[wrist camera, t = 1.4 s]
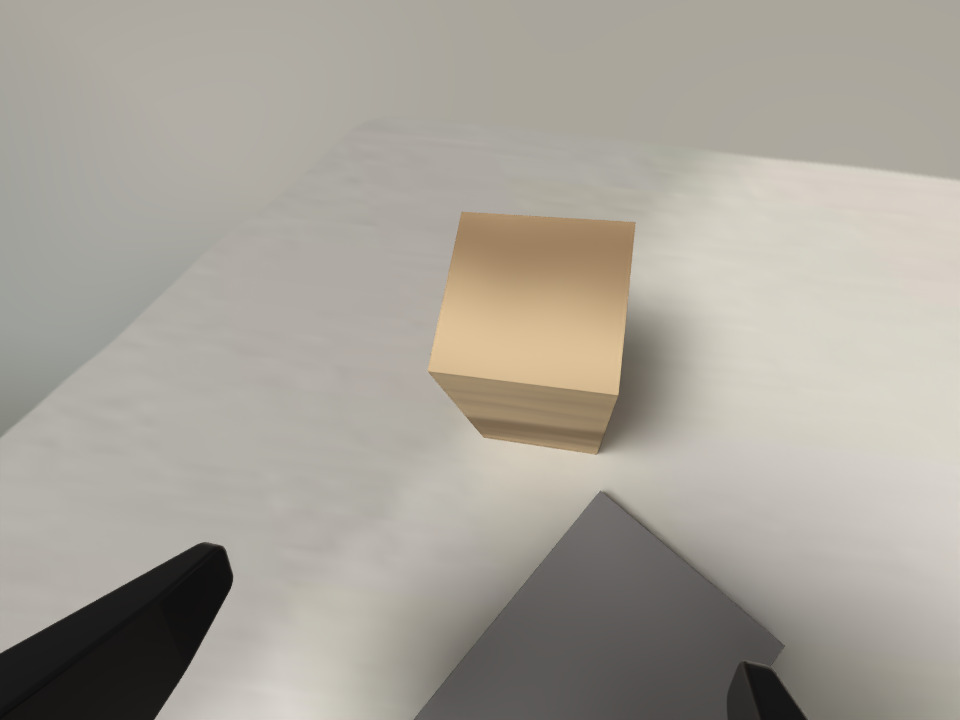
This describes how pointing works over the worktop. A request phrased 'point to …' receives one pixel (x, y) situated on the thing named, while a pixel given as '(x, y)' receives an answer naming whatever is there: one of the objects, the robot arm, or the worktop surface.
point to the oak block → (535, 327)
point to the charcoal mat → (606, 636)
